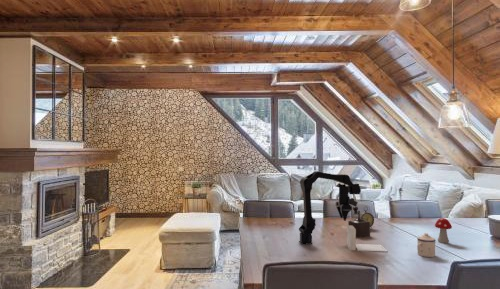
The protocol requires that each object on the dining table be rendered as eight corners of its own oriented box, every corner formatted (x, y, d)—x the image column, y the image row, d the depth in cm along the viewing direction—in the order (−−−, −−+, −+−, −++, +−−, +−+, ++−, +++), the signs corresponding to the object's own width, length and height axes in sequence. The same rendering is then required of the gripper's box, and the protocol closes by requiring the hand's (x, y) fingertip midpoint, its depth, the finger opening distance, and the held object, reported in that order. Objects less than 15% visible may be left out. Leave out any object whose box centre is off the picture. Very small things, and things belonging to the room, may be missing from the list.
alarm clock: (361, 229, 262) (361, 207, 262) (357, 228, 267) (357, 206, 267) (374, 229, 265) (374, 206, 265) (370, 227, 270) (370, 205, 270)
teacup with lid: (423, 251, 204) (423, 231, 205) (439, 255, 197) (439, 234, 197) (410, 254, 198) (410, 233, 198) (426, 259, 190) (425, 236, 191)
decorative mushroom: (431, 241, 230) (431, 217, 230) (441, 240, 233) (441, 216, 233) (445, 244, 220) (444, 220, 221) (455, 243, 223) (455, 219, 224)
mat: (358, 251, 205) (358, 250, 205) (353, 244, 219) (353, 243, 219) (387, 252, 203) (387, 251, 203) (381, 245, 217) (381, 244, 217)
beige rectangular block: (350, 250, 207) (350, 228, 207) (347, 245, 217) (347, 225, 217) (355, 250, 207) (355, 229, 207) (352, 245, 217) (352, 225, 217)
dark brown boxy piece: (371, 236, 243) (371, 209, 243) (358, 237, 238) (358, 209, 238) (355, 231, 257) (355, 205, 257) (343, 232, 252) (343, 206, 253)
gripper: (360, 196, 218) (360, 222, 218) (352, 193, 237) (352, 217, 237) (342, 195, 219) (341, 222, 218) (335, 192, 237) (335, 216, 237)
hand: (343, 219), depth 228 cm, fingers open, 9 cm apart
